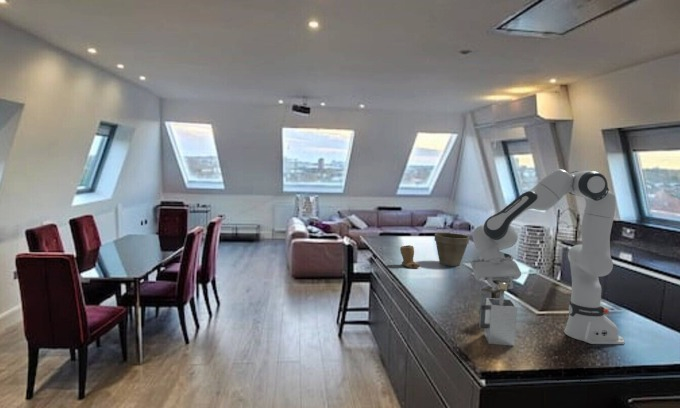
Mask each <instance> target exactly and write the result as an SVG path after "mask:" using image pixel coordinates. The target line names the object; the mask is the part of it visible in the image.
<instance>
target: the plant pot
mask: <svg viewBox="0 0 680 408" xmlns="http://www.w3.org/2000/svg"><path fill="white" fill-rule="evenodd" d="M434 241H435V245H436V249H437V250H436V251H437V255H438V256H437V257H438V261H439V263H440V264H441V265H444V266H449V267H457V266H458V265H459V266H460V265H461V263H462V261H463V258H464V256H465V252H466V249H467V246H468V245H469V244H470V236H468V235H465V234H461V233H455V232H454V233H451V232H436V233H434ZM459 266H458V267H459Z"/></svg>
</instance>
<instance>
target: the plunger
mask: <svg viewBox="0 0 680 408" xmlns="http://www.w3.org/2000/svg"><path fill="white" fill-rule="evenodd" d="M507 285H508V282H506V281H498V282H497V286H498V290H500V300H499V305H500V306H503V302H504V299H505V292H507V291H508V287H507Z"/></svg>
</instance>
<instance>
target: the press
mask: <svg viewBox="0 0 680 408" xmlns="http://www.w3.org/2000/svg"><path fill="white" fill-rule="evenodd" d="M499 300H500V299H495V298H486V305H483V304H481V309H480V308H479V311H480V324H478V326H479V328H480V329H483V330H484V331H483V335H484V338H486V341H487V343H488V345H501V346H510V347H511V346H512V347H513V346H514V347H515V344H516V330H517V317H518V316H517V315H518V306H517V305H516V304H515V302H514V301H512V299H509V298H508V299H507V298H506V299H505V298H504V302H503V306H500V305H499ZM485 310H486V312H485ZM484 321H485V323H484Z"/></svg>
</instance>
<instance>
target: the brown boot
mask: <svg viewBox="0 0 680 408" xmlns="http://www.w3.org/2000/svg"><path fill="white" fill-rule="evenodd" d="M399 250H400V254H401V256H402V259H403V260H402V262H401V265H403V266H404V267H407V268H409V269H417V268H420V267H421V265H420V264H418V263H417V262H415V261H414V257H415V256H414V255H415V247H414V246H413V245H411V244H410V245H401V246H400V249H399Z"/></svg>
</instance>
